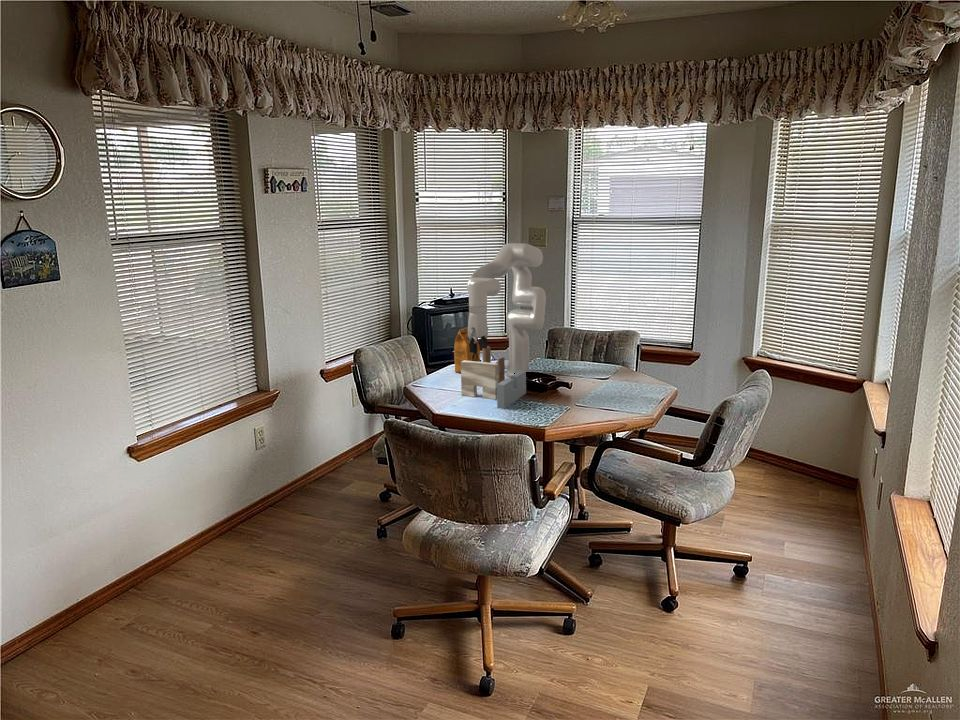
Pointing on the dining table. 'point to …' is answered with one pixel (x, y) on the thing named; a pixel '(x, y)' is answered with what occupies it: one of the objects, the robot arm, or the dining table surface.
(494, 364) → the upright beige panel
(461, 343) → the coffee package
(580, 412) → the dining table surface
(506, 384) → the grey rectangular panel
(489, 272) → the robot arm
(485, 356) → the tan post stand
